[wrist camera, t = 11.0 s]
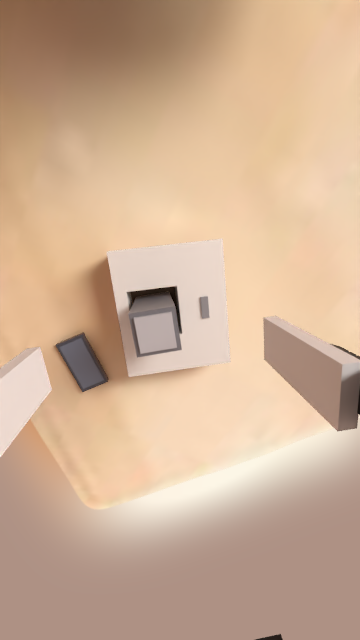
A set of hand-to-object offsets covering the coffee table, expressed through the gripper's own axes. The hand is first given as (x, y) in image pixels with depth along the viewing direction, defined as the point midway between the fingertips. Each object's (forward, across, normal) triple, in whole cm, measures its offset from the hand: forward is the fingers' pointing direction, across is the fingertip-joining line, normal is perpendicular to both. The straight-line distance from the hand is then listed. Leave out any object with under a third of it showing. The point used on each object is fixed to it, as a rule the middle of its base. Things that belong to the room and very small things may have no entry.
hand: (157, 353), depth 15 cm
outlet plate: (+17, +2, -1) cm, 17 cm away
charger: (+17, 0, -1) cm, 17 cm away
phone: (+17, -10, -7) cm, 21 cm away
